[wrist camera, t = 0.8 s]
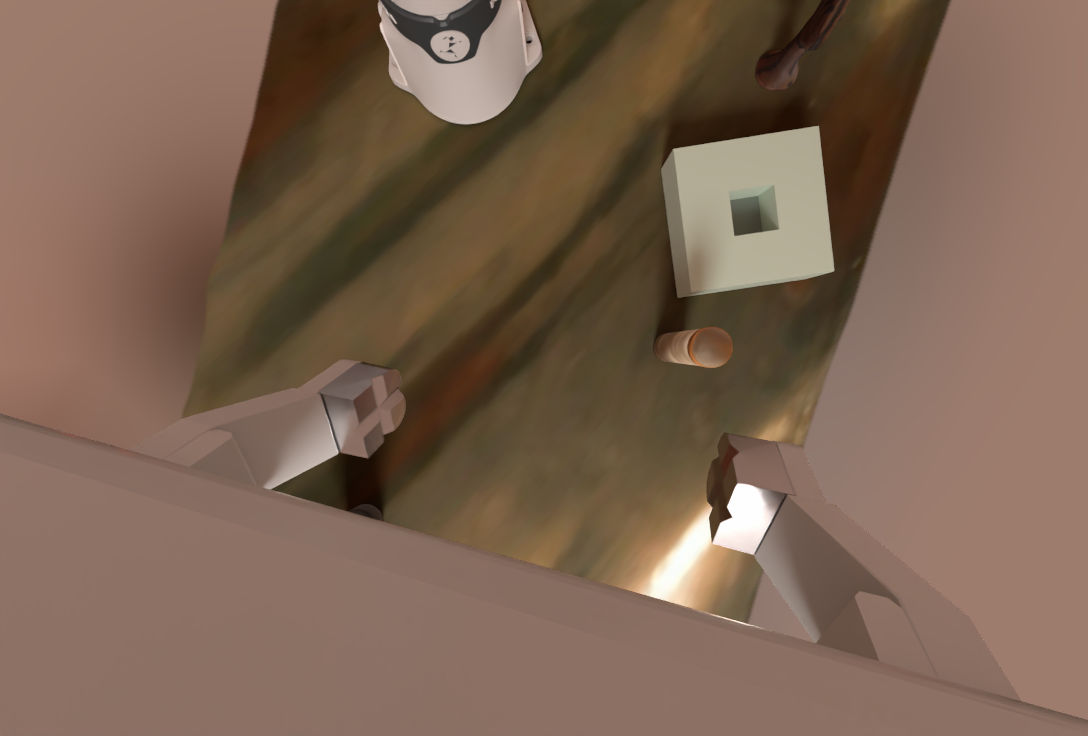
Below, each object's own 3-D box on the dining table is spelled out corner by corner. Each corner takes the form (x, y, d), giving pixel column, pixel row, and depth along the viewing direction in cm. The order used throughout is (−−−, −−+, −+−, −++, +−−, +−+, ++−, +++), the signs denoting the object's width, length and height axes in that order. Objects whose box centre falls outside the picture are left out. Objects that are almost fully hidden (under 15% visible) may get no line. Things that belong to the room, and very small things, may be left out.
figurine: (781, 111, 48) (916, -29, 30) (743, 96, 48) (856, -53, 30) (806, 53, 48) (958, -125, 30) (767, 37, 48) (897, -149, 30)
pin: (651, 335, 50) (689, 330, 36) (680, 330, 50) (730, 324, 36) (654, 363, 50) (694, 370, 36) (684, 359, 50) (735, 364, 36)
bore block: (661, 169, 49) (673, 148, 44) (791, 148, 48) (818, 125, 43) (677, 297, 50) (691, 292, 45) (805, 278, 49) (834, 271, 44)
